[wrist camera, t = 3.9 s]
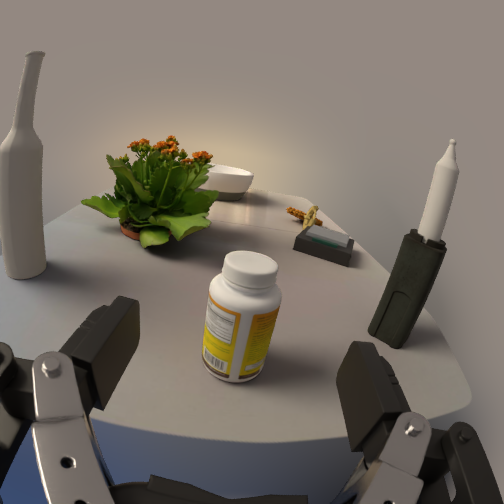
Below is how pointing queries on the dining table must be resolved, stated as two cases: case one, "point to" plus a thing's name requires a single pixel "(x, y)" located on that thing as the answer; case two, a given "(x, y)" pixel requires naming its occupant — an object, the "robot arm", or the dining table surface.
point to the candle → (417, 260)
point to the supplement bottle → (241, 316)
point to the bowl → (227, 182)
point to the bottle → (23, 183)
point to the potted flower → (158, 193)
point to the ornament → (306, 216)
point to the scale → (325, 244)
